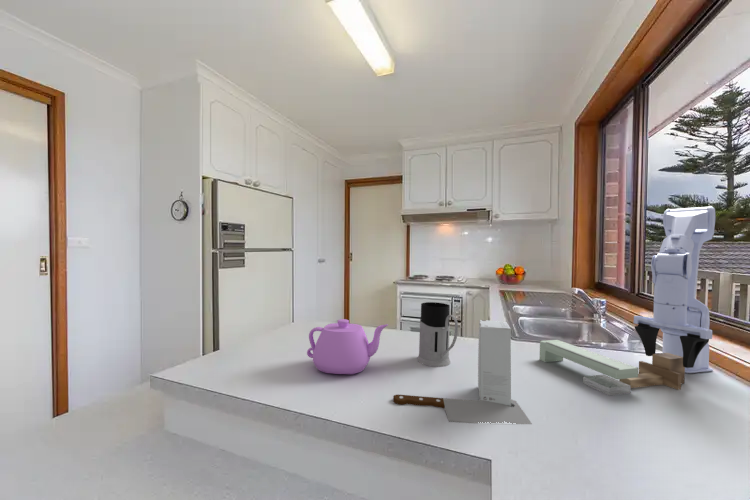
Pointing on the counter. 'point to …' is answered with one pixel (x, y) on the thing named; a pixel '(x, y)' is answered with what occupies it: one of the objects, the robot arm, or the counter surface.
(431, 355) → the glass holder
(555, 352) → the drawer pull
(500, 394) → the skincare box
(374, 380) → the counter surface
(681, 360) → the push stick
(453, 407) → the kitchen cleaver
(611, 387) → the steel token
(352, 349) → the teapot
